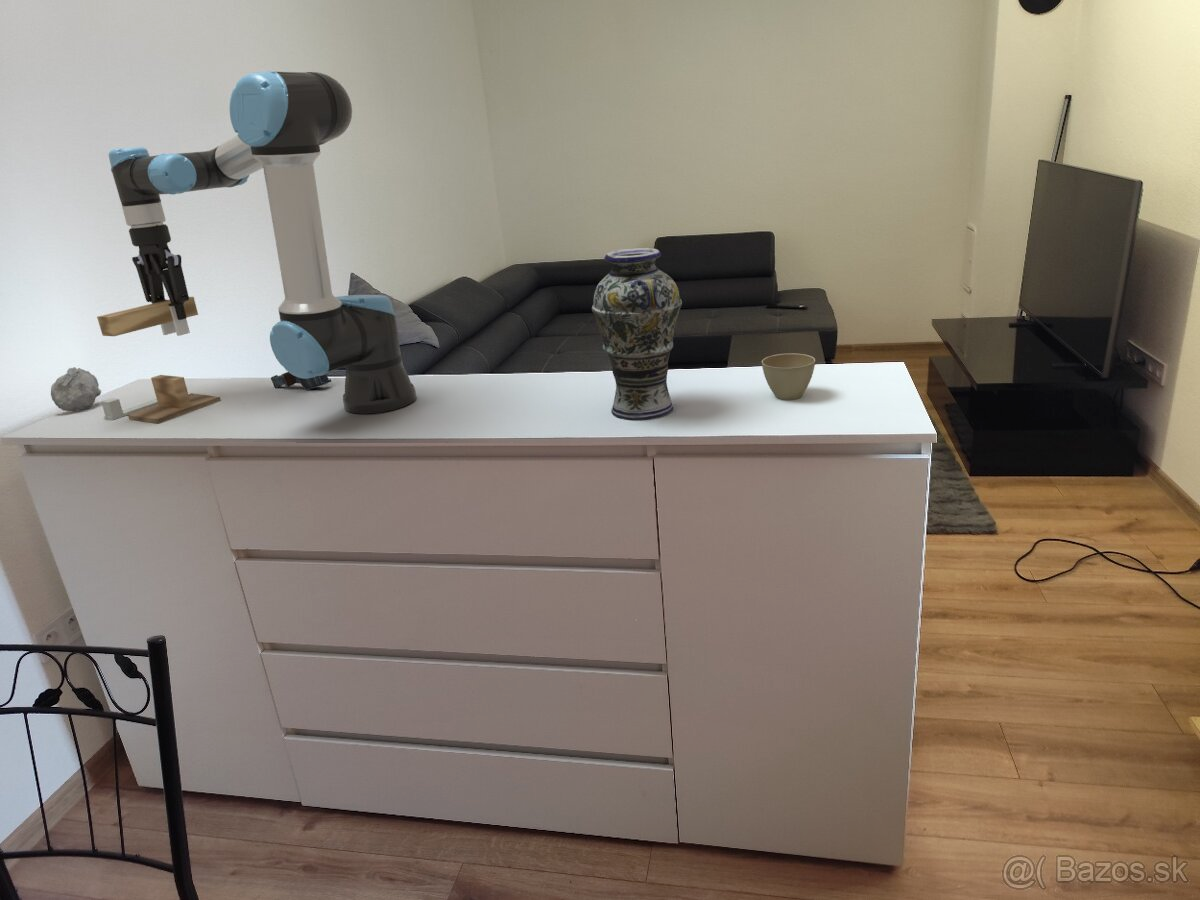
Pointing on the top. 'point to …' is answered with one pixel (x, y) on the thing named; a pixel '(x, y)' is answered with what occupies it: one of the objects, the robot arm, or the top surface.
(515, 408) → the top surface
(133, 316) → the bar
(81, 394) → the stone
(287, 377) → the gun
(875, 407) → the top surface
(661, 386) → the vase
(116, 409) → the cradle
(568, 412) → the top surface
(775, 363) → the flower pot
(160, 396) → the fulcrum
